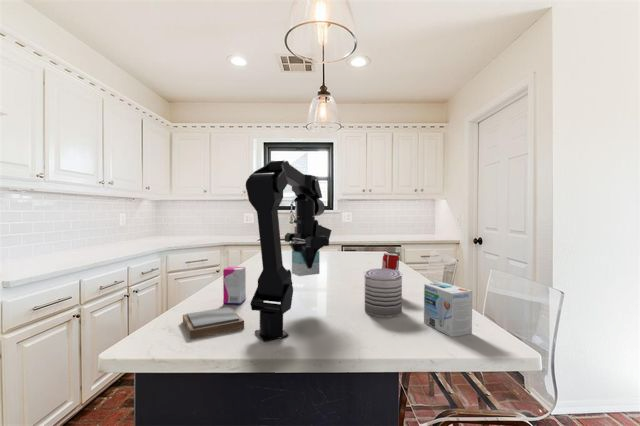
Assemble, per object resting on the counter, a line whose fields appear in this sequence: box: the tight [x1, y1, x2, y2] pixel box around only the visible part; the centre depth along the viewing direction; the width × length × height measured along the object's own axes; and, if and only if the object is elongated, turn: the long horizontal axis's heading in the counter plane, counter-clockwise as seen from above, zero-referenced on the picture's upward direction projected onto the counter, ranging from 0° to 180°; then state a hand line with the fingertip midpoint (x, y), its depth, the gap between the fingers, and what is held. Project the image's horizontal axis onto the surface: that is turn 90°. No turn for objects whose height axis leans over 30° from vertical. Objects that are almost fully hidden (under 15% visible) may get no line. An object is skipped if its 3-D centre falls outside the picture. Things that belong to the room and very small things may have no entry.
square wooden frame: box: [182, 306, 245, 340], centre depth 85 cm, size 13×13×2 cm
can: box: [363, 267, 403, 318], centre depth 97 cm, size 11×11×12 cm
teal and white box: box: [291, 250, 320, 277], centre depth 99 cm, size 7×5×7 cm
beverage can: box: [381, 252, 400, 271], centre depth 114 cm, size 6×6×15 cm
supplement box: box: [222, 266, 247, 306], centre depth 106 cm, size 6×6×12 cm
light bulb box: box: [423, 281, 473, 338], centre depth 83 cm, size 11×7×11 cm, turn 21°
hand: (305, 267), depth 99 cm, fingers closed on teal and white box, 5 cm apart
